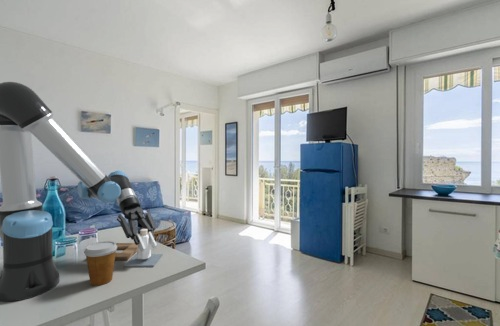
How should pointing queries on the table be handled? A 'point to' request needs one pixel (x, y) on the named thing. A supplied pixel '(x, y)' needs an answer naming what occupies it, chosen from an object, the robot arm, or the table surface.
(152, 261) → the grey mat
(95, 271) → the disposable coffee cup
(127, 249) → the walnut frame
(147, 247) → the pepper shaker
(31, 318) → the table surface
